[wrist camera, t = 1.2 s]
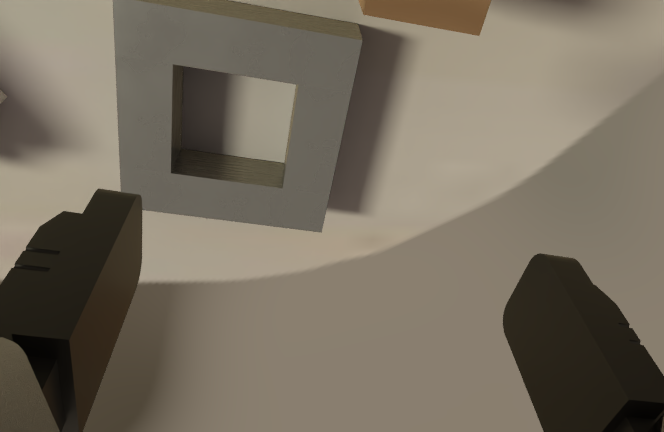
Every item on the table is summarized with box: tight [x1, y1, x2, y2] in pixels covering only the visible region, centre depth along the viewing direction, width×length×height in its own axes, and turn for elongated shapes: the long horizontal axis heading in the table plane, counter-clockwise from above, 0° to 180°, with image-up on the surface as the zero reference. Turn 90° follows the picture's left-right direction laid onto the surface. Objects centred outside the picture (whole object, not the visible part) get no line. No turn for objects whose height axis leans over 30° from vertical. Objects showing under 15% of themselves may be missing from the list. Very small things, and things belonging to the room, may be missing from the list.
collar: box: [113, 0, 363, 232], centre depth 30 cm, size 12×12×3 cm
